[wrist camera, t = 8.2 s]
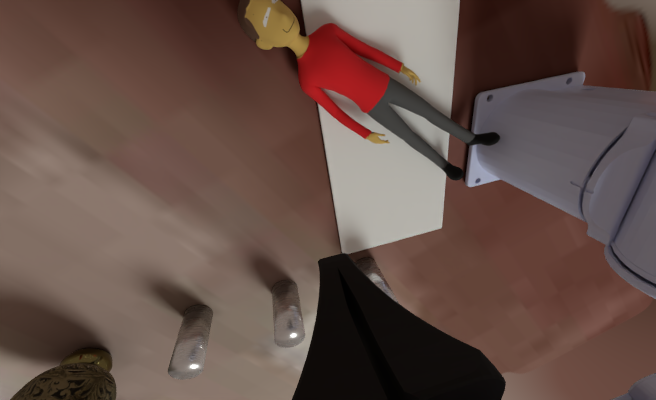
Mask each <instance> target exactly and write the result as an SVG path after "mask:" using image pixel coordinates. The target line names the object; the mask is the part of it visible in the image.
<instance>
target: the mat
mask: <svg viewBox="0 0 656 400" xmlns="http://www.w3.org/2000/svg"><path fill="white" fill-rule="evenodd" d="M300 1H301V7H302V13H303V19H304V25H305V31H306V36H308V35H310V34H312V33H313V32H314V31H316V30H317V29H318V28H319V27H321V26H322V25H324V24H327V23H334V24H336V25H337V26H338V27H340V28H341V29H342V30H344V31H345V32H347V33H348V34H350V35H352V36H353V37H355V38H357V39H358V40H360V41H362V42H364V43H366V44H368V45H369V46H371V47H374V48H376V49H378V50H380V51H382V52H384V53H385V54H387V55H389V56H391V57H393V58H394V59H396V60H398V61H400V62H402V63H404V66H405V67H407V68H409V69H410V70H412V71H413V72H414V73H415V74H416V75H417V76H418V77H419V79H420V81H421V82H419V81H418V80H417V85H415V80H414V83H413V84H412V80H411V81H410V80H409V77H408V76H406V75H405V74H403V73H402V72H400V73H397V72H395V71H393V70H392V69H390V68H388V67H386V66H384V65H381V64H379V63H377V62H374V61H372V60H369V59H367V58H364V57H362V56H359V55H358V56H359V57H360V58H362V59H363V60H364V61H366V62H367V63H369V64H371V65H373V66H374V67H376V68H377V69H379V70H381V71H382V72H384V73H386V74H388V75H389V76H390V77H391V78H393V79H394V80H396V81H398V82H399V83H401V84H403V85H404V86H406V87H407V88H408V89H410V90H412V91H413V92H414V93H416V94H417V95H419V96H420V97H422V98H423V99H424V100H425V101H427V102H428V103H429V104H430V105H432V106H433V107H434V108H435V109H437V110H438V111H440V112H441V113H443V114H444V115H445V116H447V117H448V118H450V119H451V106H452V94H453V81H454V68H455V56H456V43H457V31H458V18H459V6H460V0H300ZM356 55H357V54H356ZM321 89H322V90H323V91H324V92H325V93H326V94H327V95H328V96H329V97H330V98H331V99H332V100H333V102H334V103H335V104H336V105H337V106H338V107H339V108H341V109H342V110H343V111H344V112H345V113H346V114H347V115H349V116H350V117H351V118H352V119H354V120H355V121H356V122H358V123H359V124H361V125H363V126H364V127H366V128H367V129H369V130H371V131H372V132H376V133H379V134H385V136H378V137H379V138H380V139H381V140H385V141H386V140H388V142H390V143H384V144H375V143H373V142H371V141H369V140H368V139H364V138H363V137H361V136H360V135H358V134H357V133H355V132H354V131H352V130H350V129H349V128H347V127H346V126H344V125H343V124H341V123H340V122H339V121H338V120H337V119H336V118H334V117H333V116H331V115H330V114H329V113H328V112H327V111H326V110H325V109H324V108H323V107H322V106H320V105H319V104H318V103H317V104H318V110H319V117H320V123H321V129H322V135H323V141H324V147H325V153H326V159H327V165H328V171H329V177H330V184H331V190H332V196H333V202H334V208H335V214H336V220H337V226H338V232H339V238H340V244H341V251H342V253H346V254H350V253H354V252H357V251H361V250H365V249H368V248H372V247H375V246H379V245H383V244H386V243H390V242H393V241H397V240H401V239H404V238H408V237H411V236H415V235H419V234H422V233H426V232H430V231H433V230H437V229H440V228H442V219H443V207H444V194H445V181H446V173H445V172H444V171H443V170H442V169H441V168H440V167H438V166H437V165H436V164H435V163H433V162H432V161H431V160H429V159H428V158H427V157H425V156H424V155H422V154H421V153H419V152H418V151H416V150H415V149H413V148H412V147H411V146H409V145H408V144H407V143H406V142H405V141H404V140H402V139H401V138H399V137H398V136H396V135H395V134H393V133H392V132H391V131H389V130H388V129H386V128H385V127H383V126H382V125H381V124H379V123H378V122H377V121H375V120H374V119H373V118H371V117H370V116H369V115H368V114H367V113H364V112H362V111H361V109H360V108H359V107H358V105H357V104H356V103H355V102H354V101H352V100H351V99H349V98H347V97H345V96H343V95H341V94H339V93H337V92H335V91H332V90H327V89H324V88H321ZM388 104H389V105H390V106H391V107H392V109H393V110H394V111H395V112H396V113H397V114H398V115H399V116H400V117H401V118H402V120H403V121H404V122H405V123H406V124H407V125H408V126H409V127H410V129H411V130H412V131H413V132H414V133H416V134H417V135H419V136H420V137H421V138H422V139H423V140H424V141H425V142H426V143H427V144H429V145H430V146H431V147H432V148H433V149H434V150H435V151H436V152H437V153H438V154H439V155H441V156H442V157H443V158H444V159H446V160H447V156H448V144H449V133H447V132H446V131H444V130H442V129H440V128H438V127H437V126H435V125H433V124H432V123H430V122H429V121H428V120H427V119H425V118H424V117H422V116H419V115H417V114H415V113H413V112H410V111H408V110H406V109H404V108H401V107H399V106H396V105H394V104H391V103H388Z"/></svg>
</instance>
